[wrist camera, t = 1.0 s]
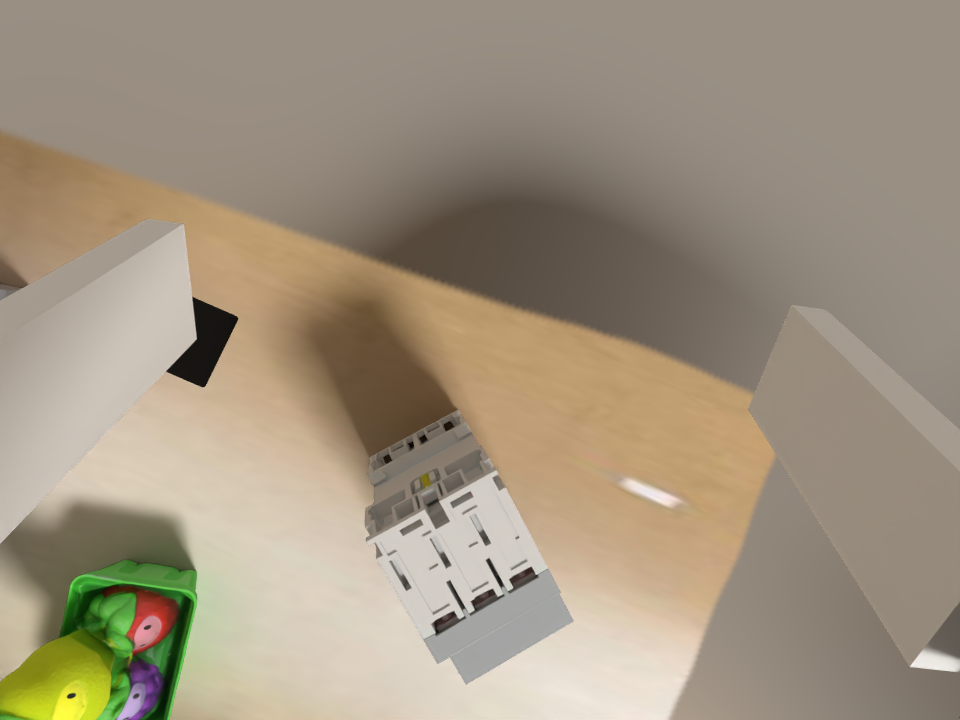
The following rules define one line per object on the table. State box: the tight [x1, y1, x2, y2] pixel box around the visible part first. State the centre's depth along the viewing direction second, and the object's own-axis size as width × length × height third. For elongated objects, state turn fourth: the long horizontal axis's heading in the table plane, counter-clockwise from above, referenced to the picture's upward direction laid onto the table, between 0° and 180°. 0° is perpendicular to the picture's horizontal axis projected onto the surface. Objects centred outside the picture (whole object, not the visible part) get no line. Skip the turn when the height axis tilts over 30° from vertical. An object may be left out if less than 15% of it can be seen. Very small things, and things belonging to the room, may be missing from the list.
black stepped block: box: [166, 297, 238, 387], centre depth 40 cm, size 12×7×5 cm, turn 64°
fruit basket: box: [0, 560, 197, 720], centre depth 38 cm, size 11×9×11 cm
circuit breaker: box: [365, 410, 573, 684], centre depth 40 cm, size 8×14×15 cm, turn 27°
